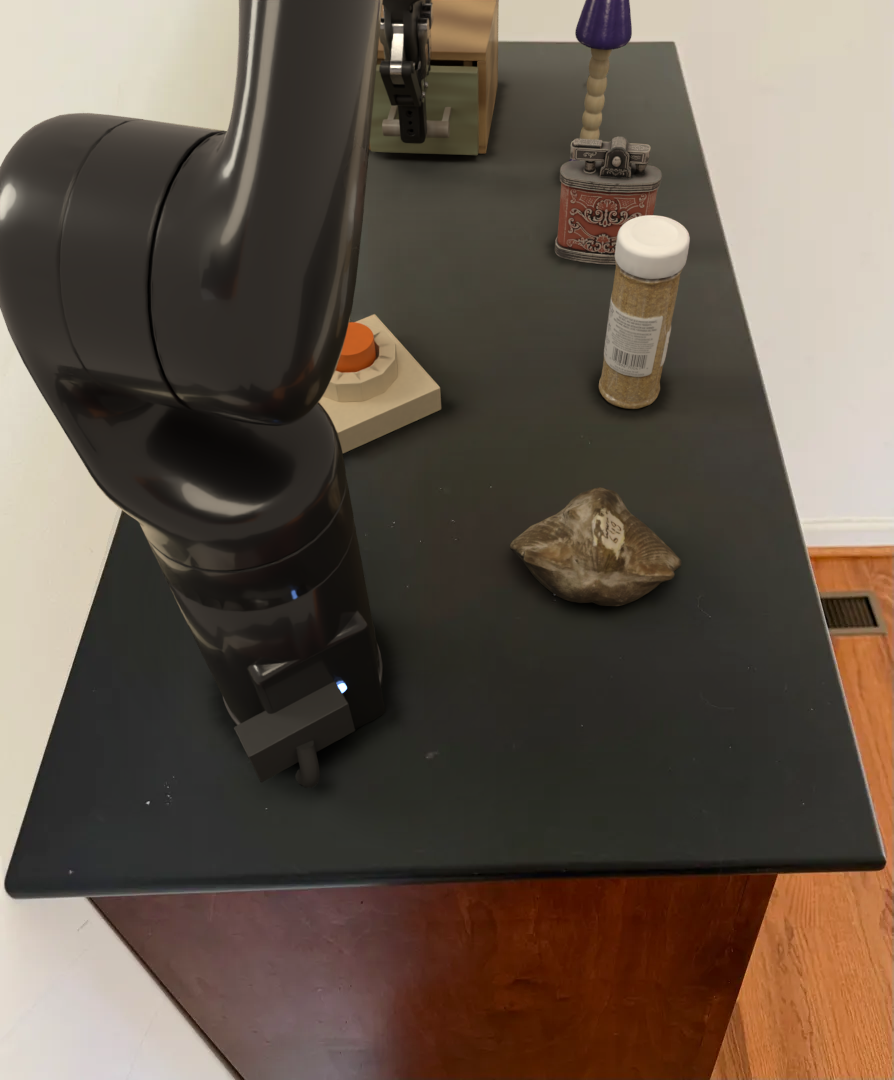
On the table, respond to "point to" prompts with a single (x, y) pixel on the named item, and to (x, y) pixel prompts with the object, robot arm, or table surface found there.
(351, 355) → the button
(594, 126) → the toy lamp
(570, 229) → the lighter
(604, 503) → the fossilized seashell
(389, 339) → the button block
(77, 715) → the table surface
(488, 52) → the cabinet
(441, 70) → the drawer
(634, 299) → the spice jar
